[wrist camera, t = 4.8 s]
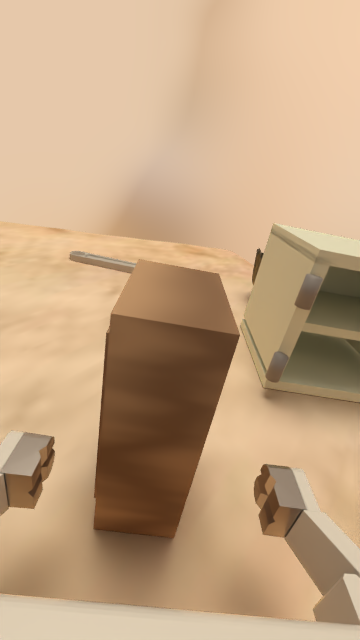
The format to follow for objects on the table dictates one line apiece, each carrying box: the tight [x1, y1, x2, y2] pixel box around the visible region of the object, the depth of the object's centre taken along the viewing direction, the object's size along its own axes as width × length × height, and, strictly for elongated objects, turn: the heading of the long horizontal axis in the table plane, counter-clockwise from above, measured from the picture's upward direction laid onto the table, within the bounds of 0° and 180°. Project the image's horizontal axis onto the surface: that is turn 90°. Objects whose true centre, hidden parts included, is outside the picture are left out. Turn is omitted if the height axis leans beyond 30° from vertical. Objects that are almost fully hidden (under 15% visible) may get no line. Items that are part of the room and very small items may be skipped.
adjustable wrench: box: [70, 251, 137, 273], centre depth 49 cm, size 25×6×2 cm, turn 78°
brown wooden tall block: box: [94, 259, 240, 538], centre depth 14 cm, size 4×6×12 cm
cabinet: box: [241, 223, 360, 403], centre depth 29 cm, size 15×13×13 cm
